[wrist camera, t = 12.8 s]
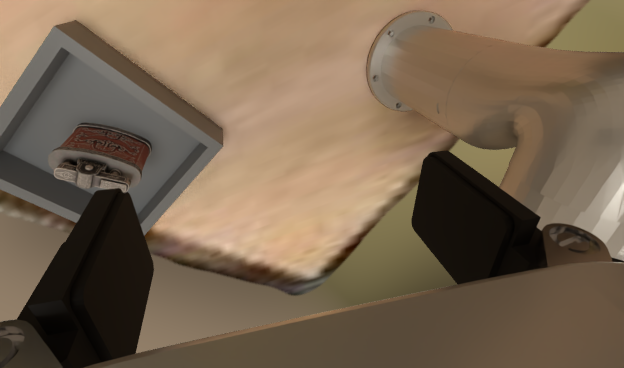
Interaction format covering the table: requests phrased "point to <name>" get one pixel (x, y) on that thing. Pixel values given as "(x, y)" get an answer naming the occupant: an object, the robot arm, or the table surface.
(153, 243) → the table surface
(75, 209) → the bin
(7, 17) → the table surface
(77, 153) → the lighter
